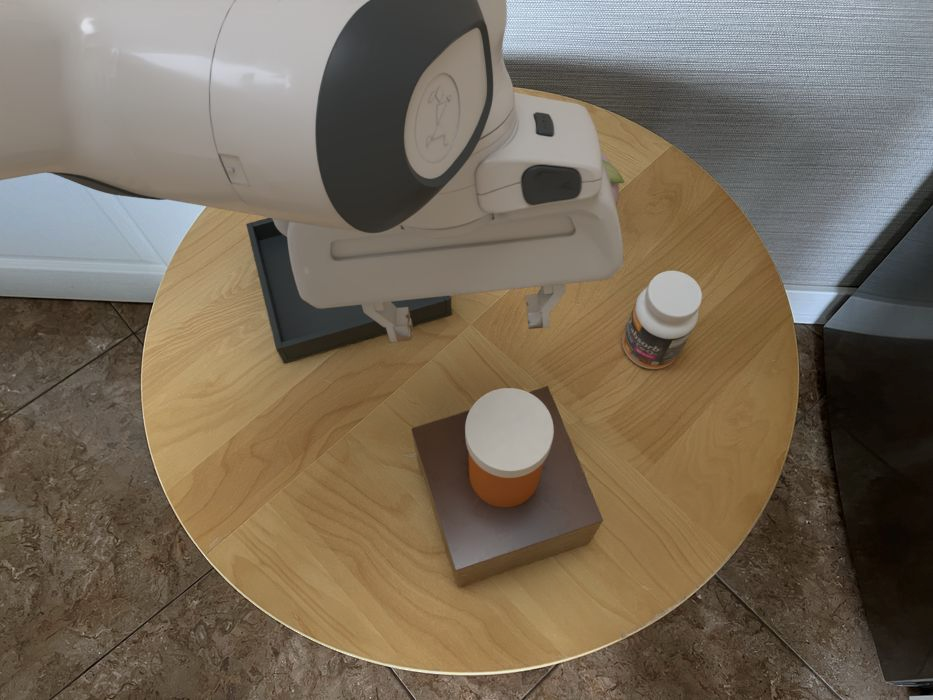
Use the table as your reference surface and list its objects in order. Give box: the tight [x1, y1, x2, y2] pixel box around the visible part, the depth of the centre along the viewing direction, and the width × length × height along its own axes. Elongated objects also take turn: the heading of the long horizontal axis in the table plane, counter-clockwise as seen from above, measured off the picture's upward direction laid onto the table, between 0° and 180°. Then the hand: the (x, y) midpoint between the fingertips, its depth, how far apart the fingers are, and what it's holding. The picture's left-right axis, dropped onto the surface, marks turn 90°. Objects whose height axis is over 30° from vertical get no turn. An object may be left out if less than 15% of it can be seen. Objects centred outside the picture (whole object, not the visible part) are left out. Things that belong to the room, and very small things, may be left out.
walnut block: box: [410, 385, 604, 589], centre depth 63 cm, size 12×12×8 cm
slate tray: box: [245, 217, 453, 364], centre depth 76 cm, size 17×15×3 cm
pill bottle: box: [621, 270, 703, 370], centre depth 69 cm, size 6×6×10 cm
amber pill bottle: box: [465, 387, 554, 508], centre depth 55 cm, size 6×6×10 cm
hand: (469, 328), depth 52 cm, fingers open, 8 cm apart
